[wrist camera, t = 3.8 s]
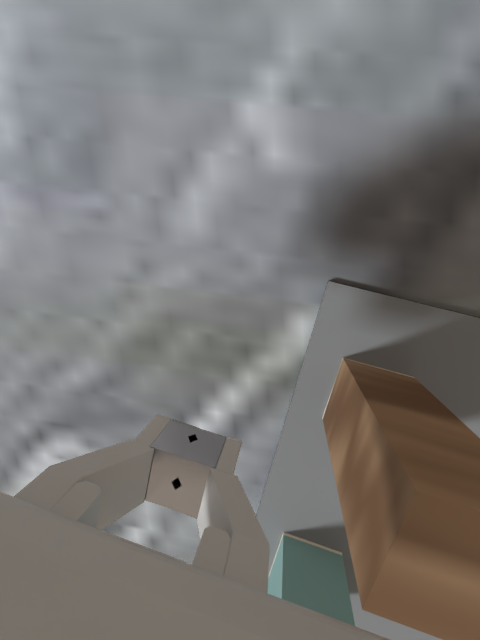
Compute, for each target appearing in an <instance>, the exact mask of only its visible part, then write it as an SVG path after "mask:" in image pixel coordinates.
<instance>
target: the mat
mask: <svg viewBox="0 0 480 640" xmlns="http://www.w3.org/2000/svg"><path fill="white" fill-rule="evenodd" d="M342 358H347V359H350V360H354V361H357V362H361V363H365V364H368V365H372V366H376V367H379V368H383V369H387V370H390V371H394V372H398V373H401V374H405V375H409V376H412V377H415V378H416V379H417V380H418V381H419V382H420V383H421V384H422V385H423V386H424V387H425V388H426V389H427V390H428V391H430V392H431V393H432V394H433V395H434V396H435V397H436V398H437V399H438V400H439V401H440V402H441V403H442V404H444V405H445V406H446V407H447V408H448V409H449V410H450V411H451V412H452V413H453V414H454V415H455V416H456V417H457V418H459V419H460V420H461V421H462V422H463V423H464V424H465V425H466V426H467V427H468V428H469V429H470V430H471V431H473V432H474V433H475V434H476V435H477V436H478V437H479V438H480V318H478V317H474V316H470V315H466V314H462V313H457V312H453V311H449V310H445V309H441V308H437V307H433V306H429V305H425V304H421V303H417V302H413V301H409V300H404V299H400V298H396V297H392V296H388V295H384V294H380V293H376V292H372V291H368V290H364V289H360V288H356V287H351V286H347V285H343V284H339V283H335V282H331V281H328V283H327V286H326V289H325V293H324V296H323V299H322V302H321V306H320V309H319V312H318V315H317V319H316V322H315V325H314V328H313V332H312V335H311V338H310V341H309V345H308V348H307V351H306V355H305V358H304V361H303V364H302V368H301V371H300V374H299V377H298V381H297V384H296V387H295V390H294V394H293V397H292V400H291V404H290V407H289V410H288V413H287V417H286V420H285V423H284V426H283V430H282V433H281V436H280V439H279V443H278V446H277V449H276V453H275V456H274V459H273V462H272V466H271V469H270V472H269V475H268V479H267V482H266V485H265V488H264V492H263V495H262V498H261V501H260V505H259V508H258V511H257V515H256V517H257V519H258V521H259V524H260V526H261V528H262V530H263V532H264V534H265V536H266V538H267V541H268V543H269V545H270V553H269V568H268V577H269V573H270V570H271V567H272V564H273V561H274V558H275V555H276V552H277V549H278V546H279V543H280V540H281V538H282V535H283V532H285V533H288V534H291V535H293V536H296V537H299V538H302V539H305V540H308V541H310V542H313V543H316V544H319V545H322V546H325V547H328V548H330V549H333V550H336V551H339V552H342V555H343V561H344V566H345V572H346V578H347V583H348V589H349V594H350V600H351V606H352V611H353V617H354V622H355V627H358V628H361V629H363V630H366V631H369V632H371V633H374V634H377V635H379V636H382V637H384V638H387V639H390V640H443V639H440V638H437V637H434V636H432V635H429V634H426V633H424V632H421V631H418V630H416V629H413V628H410V627H407V626H405V625H402V624H399V623H397V622H394V621H391V620H389V619H386V618H383V617H380V616H378V615H375V614H372V613H370V612H367V611H364V610H362V606H361V602H360V597H359V592H358V587H357V582H356V577H355V573H354V568H353V563H352V558H351V553H350V549H349V544H348V539H347V534H346V529H345V525H344V520H343V515H342V510H341V505H340V500H339V496H338V491H337V486H336V481H335V476H334V472H333V467H332V462H331V457H330V452H329V448H328V443H327V438H326V433H325V428H324V424H323V419H322V417H323V414H324V411H325V408H326V405H327V402H328V399H329V396H330V393H331V390H332V387H333V385H334V382H335V379H336V376H337V373H338V370H339V367H340V364H341V361H342ZM267 592H268V582H267Z"/></svg>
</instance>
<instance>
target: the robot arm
mask: <svg viewBox="0 0 480 640" xmlns="http://www.w3.org/2000/svg"><path fill="white" fill-rule="evenodd" d="M241 443H242V442H241V440H237V439H234V438H230V437H225V436H222V435H219V434H216V433H212V432H209V431H206V430H202V429H199V428H197V427H195V426H192V425H189V424H186V423H183V422H180V421H177V420H174V419H171V418H168V417H165V416H162V415H157V416H155V417H154V419H153V420H152V421H151V422H150V423H149V424H148V425H147V426H146V428H145V429H144V430H143V431H142V432H141V433H140V434H139V436H138V437H137V438H136V439H135V440H134V441H130V440H128V441H125V442H122V443H119V444H116V445H113V446H110V447H107V448H104V449H101V450H98V451H95V452H92V453H88V454H85V455H82V456H79V457H76V458H73V459H70V460H67V461H64V462H61V463H58V464H55V465H52V466H49V467H48V468H47V469H46V470H45V471H44V472H42V473H41V474H40V475H39V476H38V477H36V478H35V479H34V480H33V481H32V482H30V483H29V484H28V485H27V486H26V487H25V488H23V489H22V490H21V491H20V492H19V493H17V494H16V495H15V496H14V497H13V496H10V495H7V494H5V493H2V492H0V640H390V639H387V638H384V637H382V636H379V635H377V634H374V633H371V632H369V631H366V630H363V629H361V628H358V627H355V626H353V625H350V624H348V623H345V622H342V621H340V620H337V619H334V618H332V617H329V616H326V615H324V614H321V613H318V612H316V611H313V610H310V609H308V608H305V607H302V606H300V605H297V604H294V603H292V602H289V601H286V600H284V599H281V598H278V597H276V596H273V595H270V594H268V593H267V582H268V568H269V553H270V545H269V543H268V541H267V538H266V536H265V534H264V532H263V530H262V528H261V526H260V524H259V521H258V519H257V517H256V515H255V513H254V511H253V509H252V507H251V504H250V502H249V500H248V498H247V496H246V494H245V492H244V490H243V487H242V485H241V483H240V481H239V479H238V477H237V476H234V475H233V473H234V469H235V466H236V462H237V458H238V455H239V451H240V447H241ZM144 500H146V501H149V502H152V503H155V504H158V505H161V506H164V507H168V508H171V509H173V510H176V511H178V512H181V513H183V514H186V515H188V516H191V517H193V518H196V519H197V523H198V529H199V534H200V539H201V540H200V543H199V546H198V549H197V552H196V555H195V558H194V561H193V564H189V563H187V562H184V561H182V560H179V559H176V558H174V557H171V556H168V555H166V554H163V553H161V552H158V551H155V550H153V549H150V548H147V547H145V546H142V545H139V544H137V543H134V542H131V541H129V540H126V539H124V538H121V537H118V536H116V535H113V534H110V533H108V532H105V531H102V529H103V528H105V527H106V526H108V525H109V524H111V523H113V522H114V521H116V520H117V519H119V518H120V517H122V516H123V515H125V514H126V513H128V512H129V511H131V510H132V509H134V508H135V507H137V506H138V505H140V504H141V503H143V502H144Z"/></svg>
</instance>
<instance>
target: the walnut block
mask: <svg viewBox="0 0 480 640" xmlns="http://www.w3.org/2000/svg"><path fill="white" fill-rule="evenodd" d="M322 419H323V424H324V428H325V433H326V438H327V443H328V448H329V452H330V457H331V462H332V467H333V472H334V476H335V481H336V486H337V491H338V496H339V500H340V505H341V510H342V515H343V520H344V525H345V529H346V534H347V539H348V544H349V549H350V553H351V558H352V563H353V568H354V573H355V577H356V582H357V587H358V592H359V597H360V602H361V606H362V610H364V611H367V612H370V613H372V614H375V615H378V616H380V617H383V618H386V619H389V620H391V621H394V622H397V623H399V624H402V625H405V626H407V627H410V628H413V629H416V630H418V631H421V632H424V633H426V634H429V635H432V636H434V637H437V638H440V639H443V640H480V438H479V437H478V436H477V435H476V434H475V433H474V432H473V431H471V430H470V429H469V428H468V427H467V426H466V425H465V424H464V423H463V422H462V421H461V420H460V419H459V418H457V417H456V416H455V415H454V414H453V413H452V412H451V411H450V410H449V409H448V408H447V407H446V406H445V405H444V404H442V403H441V402H440V401H439V400H438V399H437V398H436V397H435V396H434V395H433V394H432V393H431V392H430V391H428V390H427V389H426V388H425V387H424V386H423V385H422V384H421V383H420V382H419V381H418V380H417V379H416V378H415V377H412V376H409V375H405V374H401V373H398V372H394V371H390V370H387V369H383V368H379V367H376V366H372V365H368V364H365V363H361V362H357V361H354V360H350V359H347V358H342V361H341V364H340V367H339V370H338V373H337V376H336V379H335V382H334V385H333V387H332V390H331V393H330V396H329V399H328V402H327V405H326V408H325V411H324V414H323V417H322Z"/></svg>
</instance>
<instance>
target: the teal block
mask: <svg viewBox="0 0 480 640" xmlns="http://www.w3.org/2000/svg"><path fill="white" fill-rule="evenodd" d="M267 593H268V594H270V595H273V596H276V597H278V598H281V599H284V600H286V601H289V602H292V603H294V604H297V605H300V606H302V607H305V608H308V609H310V610H313V611H316V612H318V613H321V614H324V615H326V616H329V617H332V618H334V619H337V620H340V621H342V622H345V623H348V624H350V625H353V626H355V622H354V617H353V611H352V606H351V600H350V594H349V589H348V583H347V578H346V572H345V566H344V561H343V555H342V552H339V551H336V550H333V549H330V548H328V547H325V546H322V545H319V544H316V543H313V542H310V541H308V540H305V539H302V538H299V537H296V536H293V535H291V534H288V533H285V532H283V535H282V538H281V540H280V543H279V546H278V549H277V552H276V555H275V558H274V561H273V564H272V567H271V570H270V573H269V577H268V592H267Z"/></svg>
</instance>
